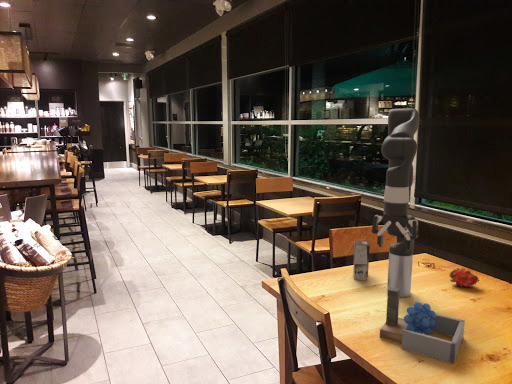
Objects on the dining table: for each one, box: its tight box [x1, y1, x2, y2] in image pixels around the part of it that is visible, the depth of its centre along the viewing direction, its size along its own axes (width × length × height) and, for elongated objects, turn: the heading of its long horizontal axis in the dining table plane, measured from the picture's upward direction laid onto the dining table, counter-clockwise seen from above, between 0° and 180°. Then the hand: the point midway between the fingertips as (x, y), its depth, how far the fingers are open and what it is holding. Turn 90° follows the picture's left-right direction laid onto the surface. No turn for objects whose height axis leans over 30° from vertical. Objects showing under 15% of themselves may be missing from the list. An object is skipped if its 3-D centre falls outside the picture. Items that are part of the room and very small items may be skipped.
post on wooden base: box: [379, 287, 408, 345], centre depth 134 cm, size 12×7×15 cm, turn 145°
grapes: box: [403, 301, 437, 336], centre depth 131 cm, size 12×7×12 cm, turn 103°
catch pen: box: [401, 313, 466, 365], centre depth 129 cm, size 18×15×6 cm
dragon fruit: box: [449, 267, 480, 289], centre depth 177 cm, size 8×8×12 cm
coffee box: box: [352, 239, 371, 281], centre depth 187 cm, size 9×6×16 cm
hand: (393, 248), depth 134 cm, fingers open, 8 cm apart
